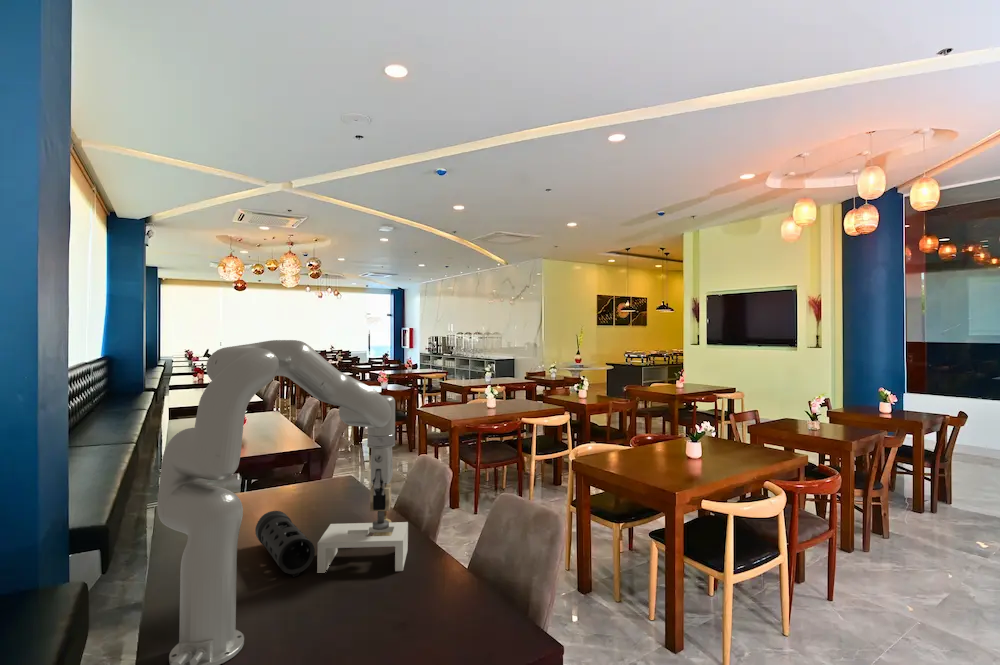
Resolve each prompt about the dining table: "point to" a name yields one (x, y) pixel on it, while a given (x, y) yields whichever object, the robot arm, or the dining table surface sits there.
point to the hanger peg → (381, 523)
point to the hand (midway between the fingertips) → (380, 505)
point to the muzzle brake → (285, 542)
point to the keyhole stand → (361, 541)
